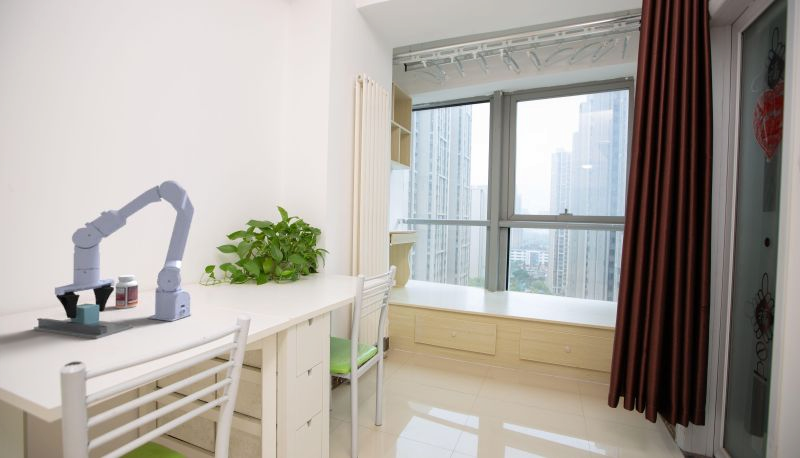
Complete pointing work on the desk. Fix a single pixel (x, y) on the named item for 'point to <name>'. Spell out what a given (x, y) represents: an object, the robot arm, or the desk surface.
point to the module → (86, 314)
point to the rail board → (102, 323)
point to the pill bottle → (126, 292)
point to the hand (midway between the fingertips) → (86, 314)
